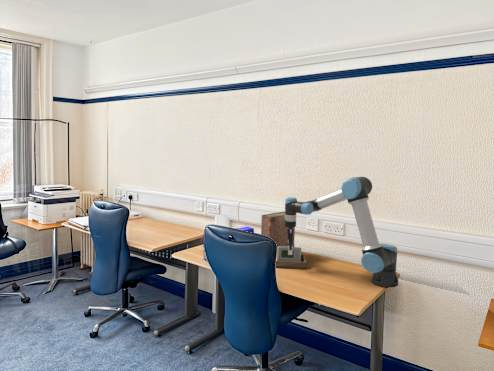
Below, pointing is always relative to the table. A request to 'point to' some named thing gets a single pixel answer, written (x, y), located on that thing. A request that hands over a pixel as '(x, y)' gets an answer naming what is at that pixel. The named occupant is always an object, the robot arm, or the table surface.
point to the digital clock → (283, 255)
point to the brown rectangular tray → (292, 263)
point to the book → (276, 228)
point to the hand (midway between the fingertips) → (289, 251)
